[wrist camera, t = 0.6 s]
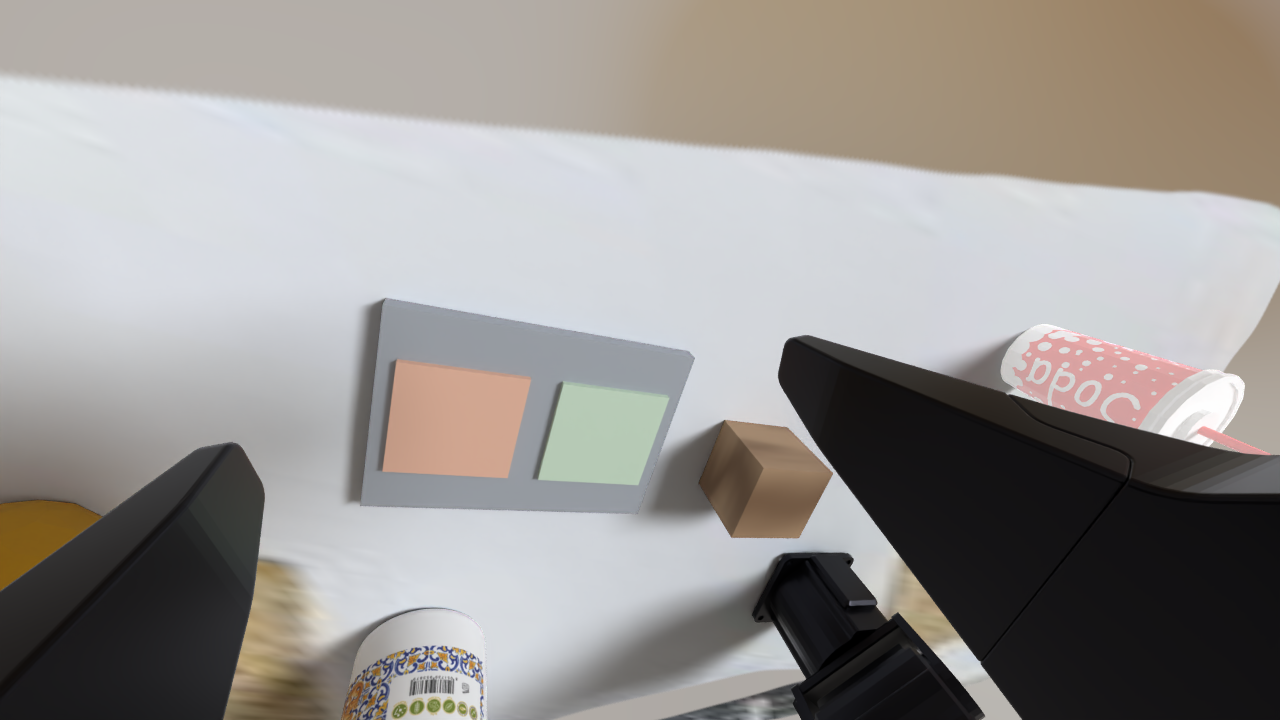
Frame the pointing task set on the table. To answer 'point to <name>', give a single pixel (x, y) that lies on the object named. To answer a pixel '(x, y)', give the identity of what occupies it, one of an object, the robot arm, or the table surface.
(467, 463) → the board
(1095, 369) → the beverage cup
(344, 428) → the table surface
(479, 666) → the bath foam
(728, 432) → the walnut block
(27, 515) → the apple
